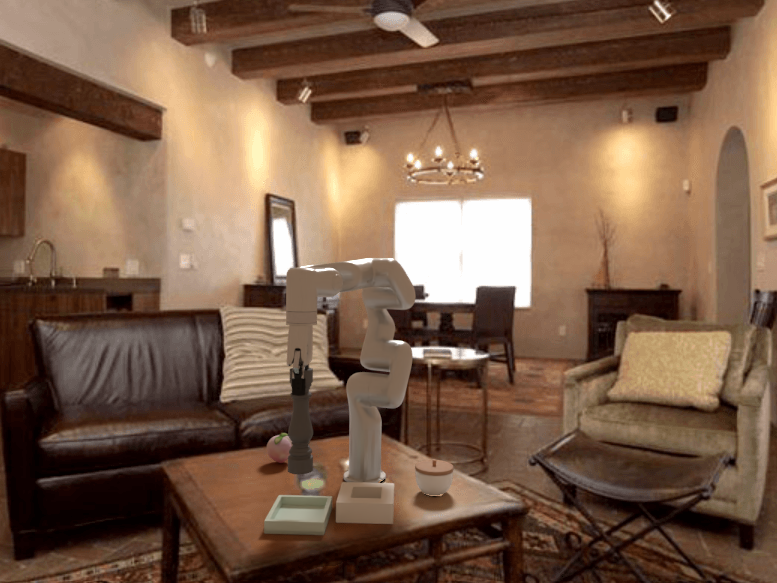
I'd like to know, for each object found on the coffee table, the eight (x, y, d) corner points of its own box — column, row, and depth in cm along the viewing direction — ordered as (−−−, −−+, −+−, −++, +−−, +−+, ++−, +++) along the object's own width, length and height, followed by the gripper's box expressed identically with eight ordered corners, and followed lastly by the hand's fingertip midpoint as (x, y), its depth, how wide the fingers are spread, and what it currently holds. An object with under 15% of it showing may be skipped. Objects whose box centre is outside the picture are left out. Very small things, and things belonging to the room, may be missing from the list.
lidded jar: (442, 484, 172) (443, 452, 171) (459, 497, 162) (460, 463, 161) (408, 488, 168) (409, 456, 167) (424, 502, 158) (424, 467, 157)
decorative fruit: (270, 458, 193) (270, 428, 192) (295, 458, 193) (295, 428, 192) (263, 467, 183) (263, 436, 183) (289, 468, 183) (289, 436, 183)
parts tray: (278, 506, 154) (278, 494, 154) (332, 507, 153) (332, 496, 153) (264, 533, 138) (264, 520, 138) (323, 535, 137) (324, 522, 137)
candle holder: (282, 469, 145) (283, 368, 144) (303, 464, 149) (303, 366, 149) (297, 476, 141) (298, 372, 140) (318, 470, 145) (319, 369, 144)
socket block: (341, 500, 158) (342, 481, 158) (394, 501, 158) (394, 483, 158) (335, 522, 144) (336, 502, 144) (393, 524, 144) (393, 503, 144)
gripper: (293, 315, 153) (292, 385, 153) (278, 321, 135) (278, 399, 136) (321, 316, 152) (321, 385, 153) (311, 321, 135) (310, 400, 136)
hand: (300, 391), depth 144 cm, fingers closed on candle holder, 5 cm apart
